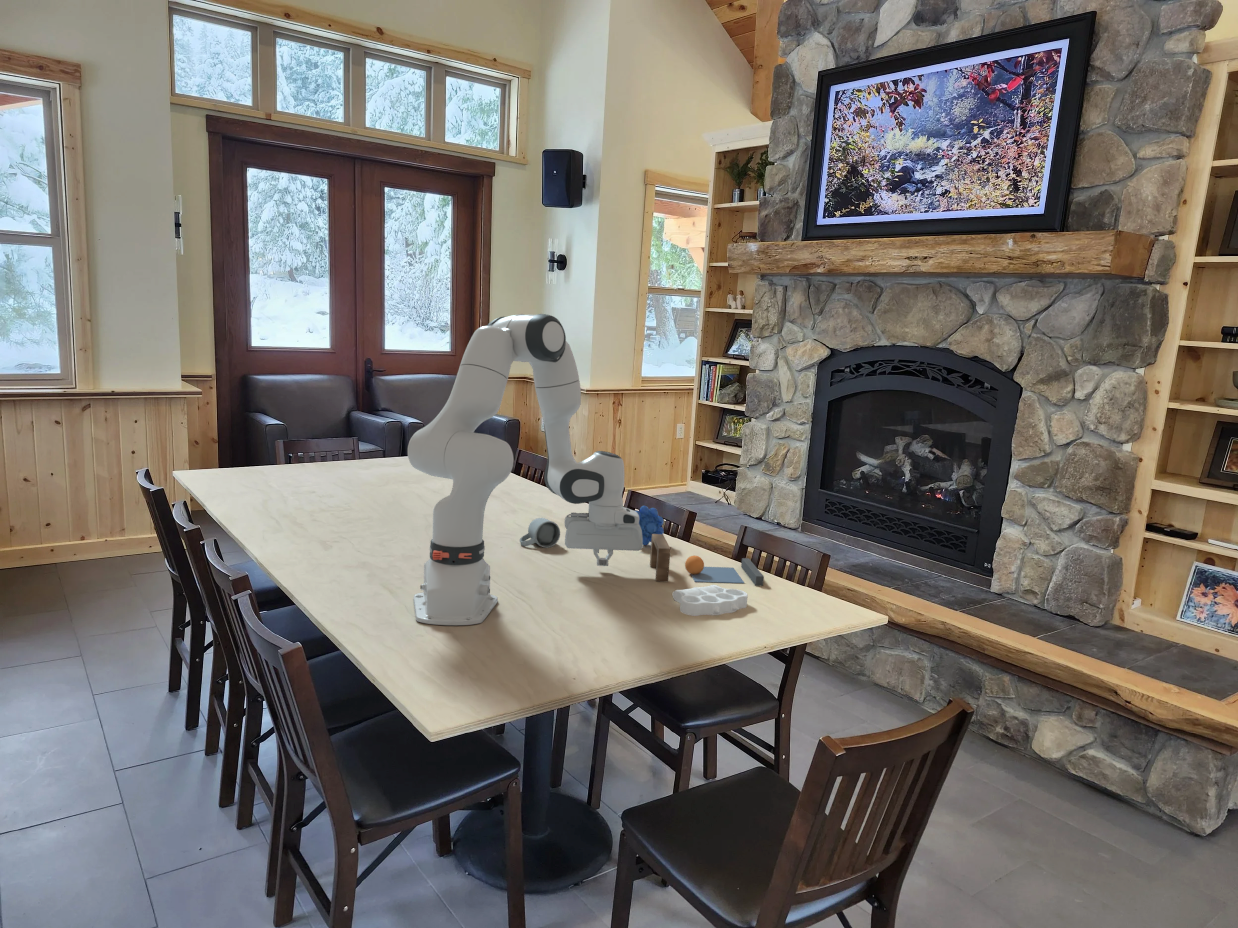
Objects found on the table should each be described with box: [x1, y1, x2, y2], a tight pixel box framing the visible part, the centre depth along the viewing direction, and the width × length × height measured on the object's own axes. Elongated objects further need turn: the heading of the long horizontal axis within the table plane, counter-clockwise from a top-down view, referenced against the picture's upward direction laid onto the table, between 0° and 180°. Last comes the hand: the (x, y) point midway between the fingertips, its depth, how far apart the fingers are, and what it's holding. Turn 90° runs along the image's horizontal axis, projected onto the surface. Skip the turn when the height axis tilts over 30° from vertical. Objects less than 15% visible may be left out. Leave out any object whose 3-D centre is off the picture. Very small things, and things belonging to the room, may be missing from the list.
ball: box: [684, 554, 705, 575], centre depth 221 cm, size 5×5×5 cm
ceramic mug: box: [519, 517, 561, 549], centre depth 239 cm, size 11×8×8 cm
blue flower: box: [635, 505, 665, 546], centre depth 244 cm, size 12×7×12 cm, turn 117°
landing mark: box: [690, 566, 745, 584], centre depth 221 cm, size 13×13×1 cm
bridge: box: [649, 533, 671, 583], centre depth 219 cm, size 3×14×9 cm, turn 5°
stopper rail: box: [740, 557, 765, 587], centre depth 222 cm, size 16×2×2 cm, turn 5°
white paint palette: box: [672, 584, 749, 617], centre depth 197 cm, size 3×18×15 cm
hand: (602, 565), depth 218 cm, fingers closed
